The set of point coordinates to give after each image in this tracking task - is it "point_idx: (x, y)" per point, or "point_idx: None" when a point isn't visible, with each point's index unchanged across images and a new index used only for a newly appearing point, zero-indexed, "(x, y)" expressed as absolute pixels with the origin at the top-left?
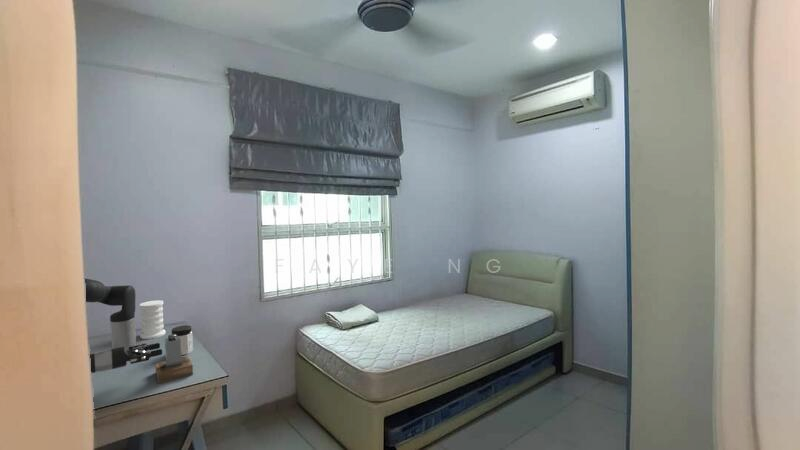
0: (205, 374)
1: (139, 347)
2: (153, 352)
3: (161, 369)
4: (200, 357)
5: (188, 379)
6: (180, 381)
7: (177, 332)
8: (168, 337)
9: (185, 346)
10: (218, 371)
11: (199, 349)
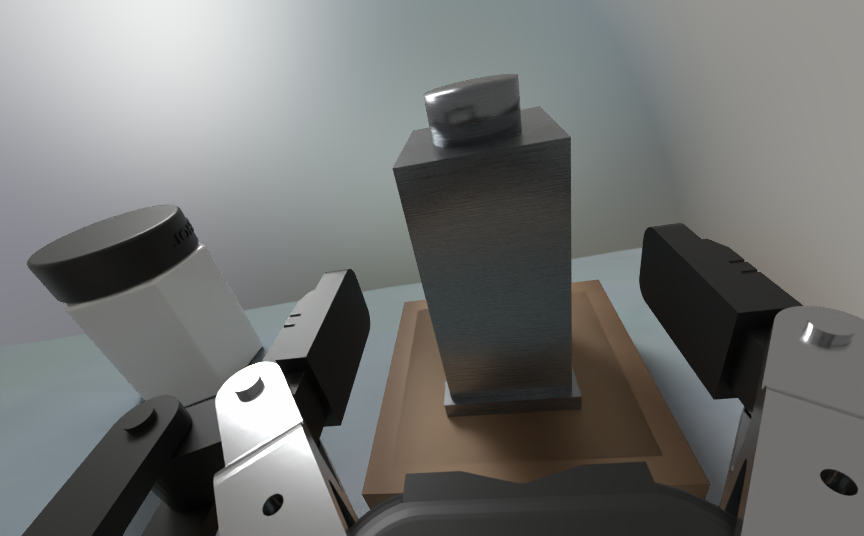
0: (629, 288)
1: (340, 523)
2: (770, 295)
3: (584, 449)
4: (369, 305)
5: (676, 349)
6: (698, 387)
7: (138, 248)
8: (487, 103)
9: (234, 315)
10: (614, 253)
11: (262, 309)
